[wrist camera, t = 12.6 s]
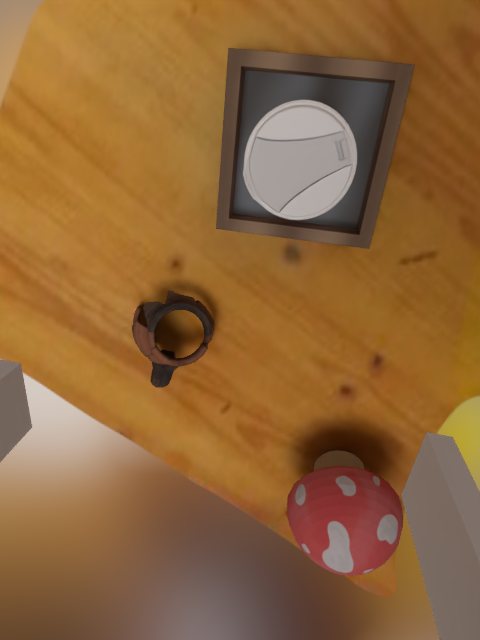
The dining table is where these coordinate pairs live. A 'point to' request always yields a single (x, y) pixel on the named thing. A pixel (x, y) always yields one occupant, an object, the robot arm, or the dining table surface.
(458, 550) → the robot arm
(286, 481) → the dining table surface
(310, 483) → the decorative mushroom
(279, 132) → the paper cup
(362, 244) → the tray
